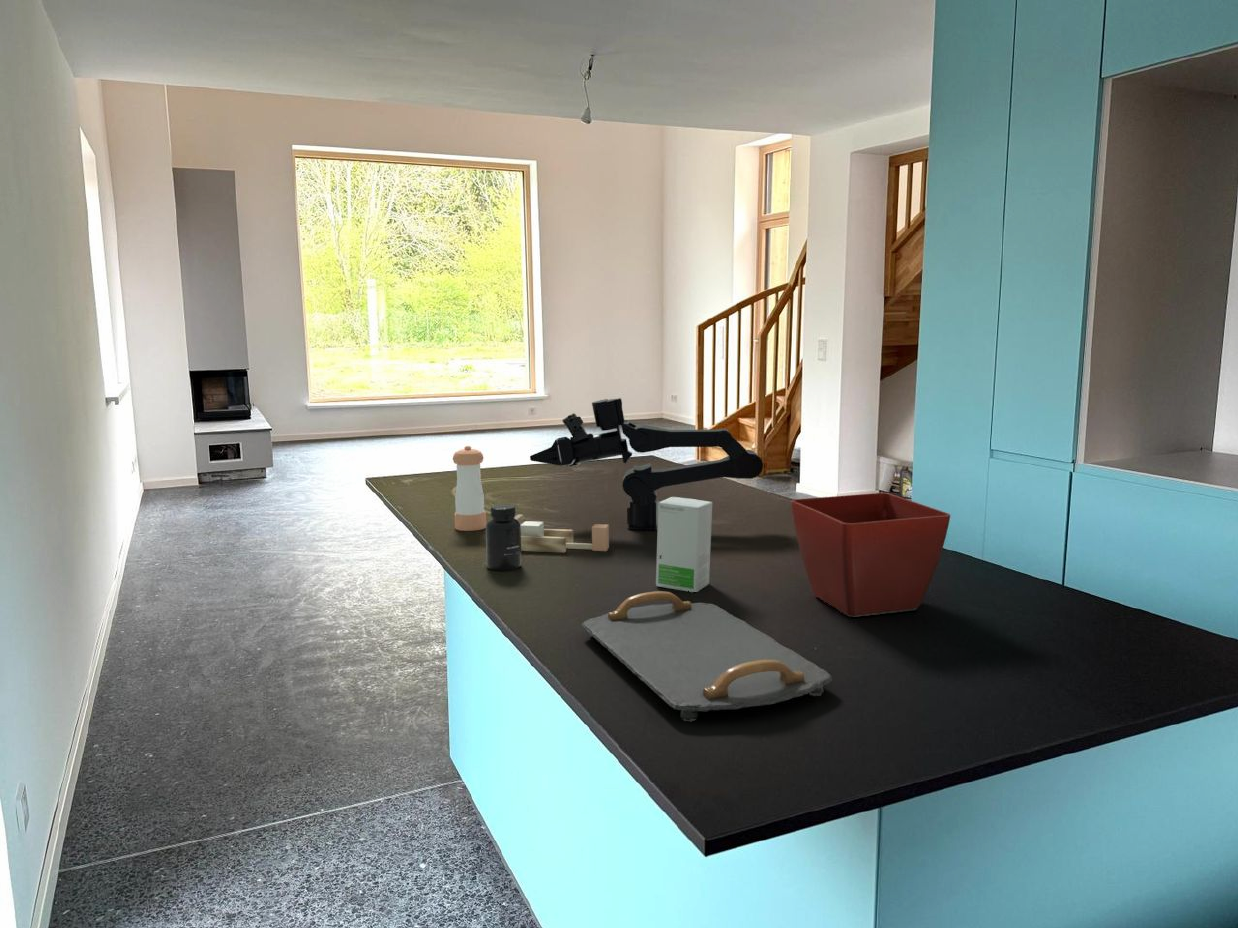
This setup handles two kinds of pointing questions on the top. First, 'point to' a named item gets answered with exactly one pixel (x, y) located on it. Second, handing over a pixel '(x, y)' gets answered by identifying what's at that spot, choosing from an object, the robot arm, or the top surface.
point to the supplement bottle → (503, 539)
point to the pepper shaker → (469, 491)
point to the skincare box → (683, 544)
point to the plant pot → (869, 550)
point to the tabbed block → (598, 543)
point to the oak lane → (546, 539)
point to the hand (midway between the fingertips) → (533, 458)
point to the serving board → (703, 655)
